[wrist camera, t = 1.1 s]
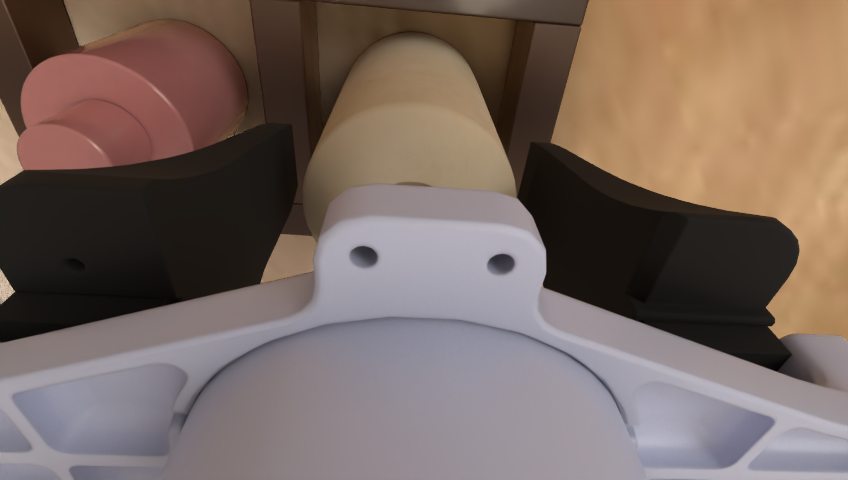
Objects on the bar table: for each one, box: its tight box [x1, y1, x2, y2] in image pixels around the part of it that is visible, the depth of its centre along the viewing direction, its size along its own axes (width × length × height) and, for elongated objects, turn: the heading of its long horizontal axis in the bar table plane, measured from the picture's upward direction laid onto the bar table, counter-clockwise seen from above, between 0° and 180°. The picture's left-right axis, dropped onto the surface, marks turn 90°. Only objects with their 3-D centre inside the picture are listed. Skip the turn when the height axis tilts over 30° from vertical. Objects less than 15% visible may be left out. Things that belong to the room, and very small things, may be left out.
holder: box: [0, 0, 589, 236], centre depth 17 cm, size 11×20×3 cm, turn 85°
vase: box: [17, 19, 248, 170], centre depth 15 cm, size 5×5×8 cm
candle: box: [302, 32, 517, 243], centre depth 14 cm, size 6×6×10 cm
